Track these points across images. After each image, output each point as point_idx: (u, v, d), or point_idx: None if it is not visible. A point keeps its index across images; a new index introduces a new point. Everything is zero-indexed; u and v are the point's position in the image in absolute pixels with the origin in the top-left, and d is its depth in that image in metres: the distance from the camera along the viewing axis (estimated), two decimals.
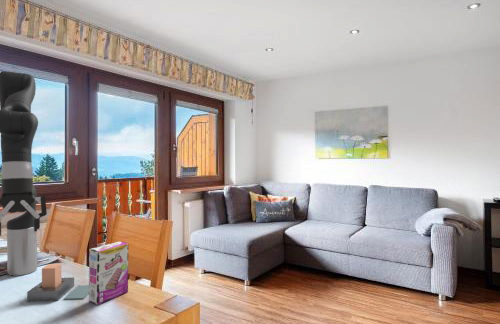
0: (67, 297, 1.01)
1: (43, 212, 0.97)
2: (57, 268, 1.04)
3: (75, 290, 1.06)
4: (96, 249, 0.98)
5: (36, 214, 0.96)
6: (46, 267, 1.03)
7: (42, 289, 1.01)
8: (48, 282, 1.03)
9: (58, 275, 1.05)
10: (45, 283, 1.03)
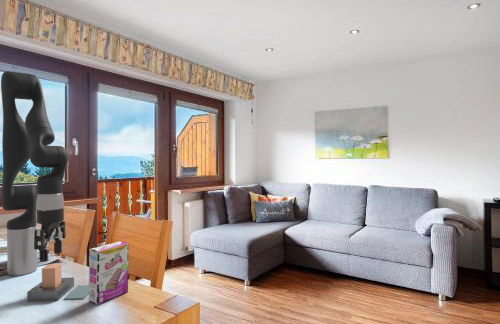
0: (67, 297, 1.01)
1: (64, 235, 1.11)
2: (57, 268, 1.04)
3: (75, 290, 1.06)
4: (96, 249, 0.98)
5: (61, 238, 1.09)
6: (46, 267, 1.03)
7: (42, 289, 1.01)
8: (48, 282, 1.03)
9: (58, 275, 1.05)
10: (45, 283, 1.03)
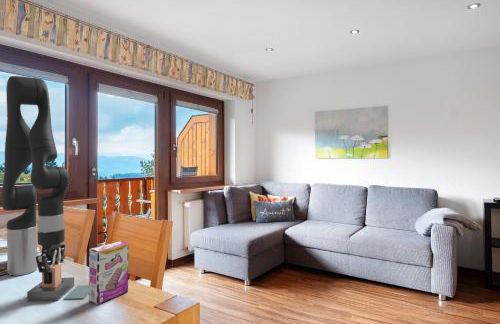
0: (67, 297, 1.01)
1: (62, 259, 1.09)
2: (57, 268, 1.04)
3: (75, 290, 1.06)
4: (96, 249, 0.98)
5: (59, 262, 1.07)
6: None
7: (42, 289, 1.01)
8: None
9: (58, 275, 1.05)
10: None
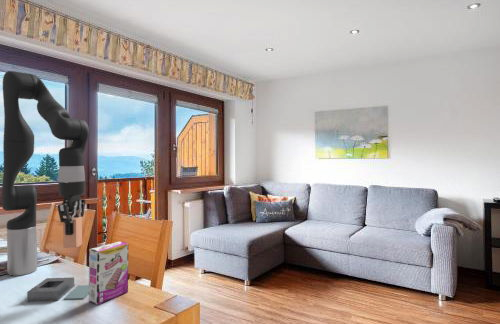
0: (67, 297, 1.01)
1: (82, 214, 1.09)
2: (78, 220, 1.04)
3: (75, 290, 1.06)
4: (96, 249, 0.98)
5: (80, 216, 1.07)
6: None
7: (42, 289, 1.01)
8: None
9: (79, 227, 1.04)
10: None
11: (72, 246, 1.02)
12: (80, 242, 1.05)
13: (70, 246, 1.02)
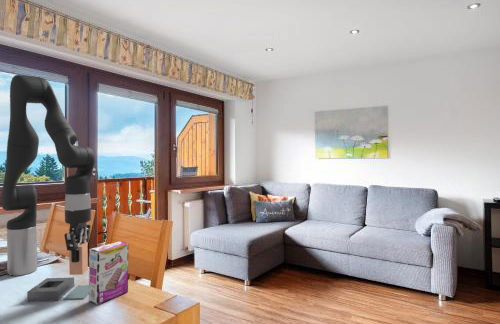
0: (67, 297, 1.01)
1: (87, 239, 1.09)
2: (84, 247, 1.05)
3: (75, 290, 1.06)
4: (96, 249, 0.98)
5: (85, 242, 1.08)
6: None
7: (42, 289, 1.01)
8: None
9: (85, 254, 1.05)
10: None
11: (78, 273, 1.03)
12: (86, 268, 1.06)
13: (76, 273, 1.03)
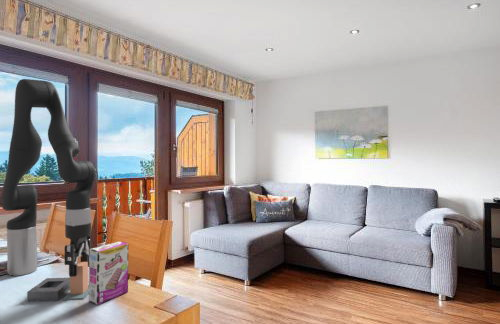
0: (67, 297, 1.01)
1: None
2: (84, 266, 1.05)
3: None
4: (96, 249, 0.98)
5: (88, 251, 1.10)
6: None
7: (42, 289, 1.01)
8: (75, 279, 1.04)
9: (85, 273, 1.06)
10: (72, 281, 1.03)
11: (78, 292, 1.04)
12: (86, 287, 1.07)
13: (76, 292, 1.04)
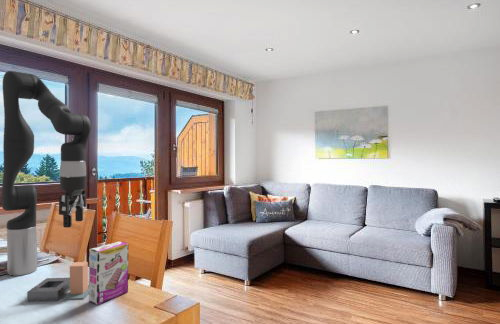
0: (67, 297, 1.01)
1: (85, 204, 1.12)
2: (84, 266, 1.05)
3: None
4: (96, 249, 0.98)
5: (83, 206, 1.10)
6: (74, 265, 1.04)
7: (42, 289, 1.01)
8: (75, 279, 1.04)
9: (85, 273, 1.06)
10: (72, 281, 1.03)
11: (78, 292, 1.04)
12: (86, 287, 1.07)
13: (76, 292, 1.04)
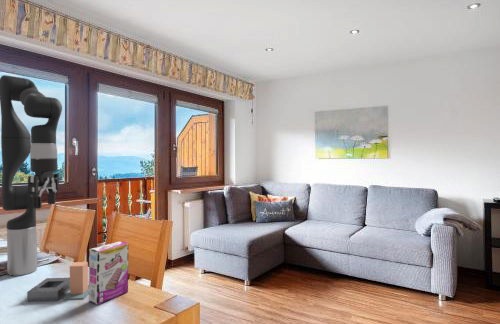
0: (67, 297, 1.01)
1: (58, 187, 1.13)
2: (84, 266, 1.05)
3: None
4: (96, 249, 0.98)
5: (55, 189, 1.11)
6: (74, 265, 1.04)
7: (42, 289, 1.01)
8: (75, 279, 1.04)
9: (85, 273, 1.06)
10: (72, 281, 1.03)
11: (78, 292, 1.04)
12: (86, 287, 1.07)
13: (76, 292, 1.04)
